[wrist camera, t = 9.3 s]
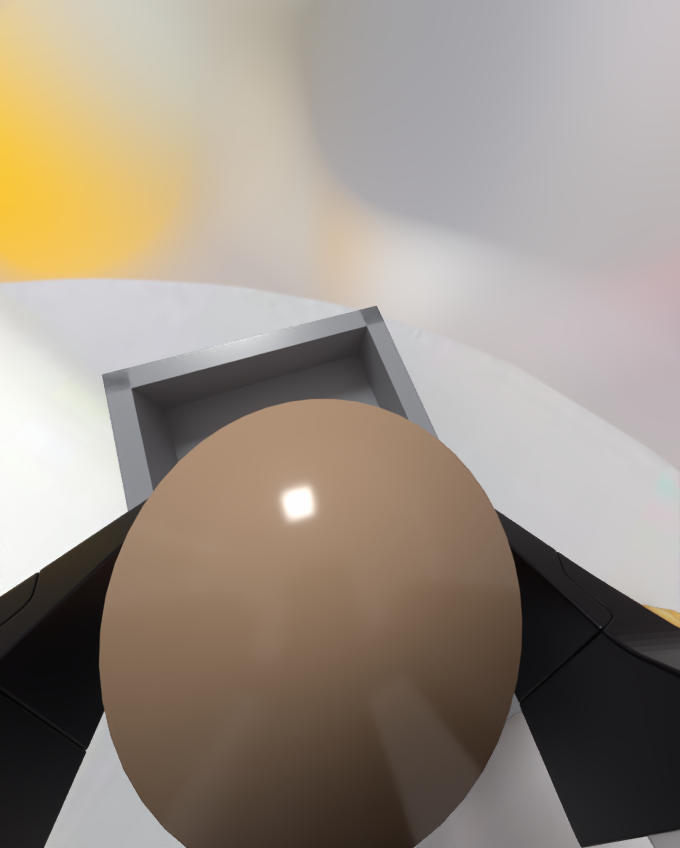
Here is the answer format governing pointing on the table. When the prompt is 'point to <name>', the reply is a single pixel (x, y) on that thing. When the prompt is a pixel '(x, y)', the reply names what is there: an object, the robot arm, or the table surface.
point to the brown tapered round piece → (311, 634)
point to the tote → (251, 391)
